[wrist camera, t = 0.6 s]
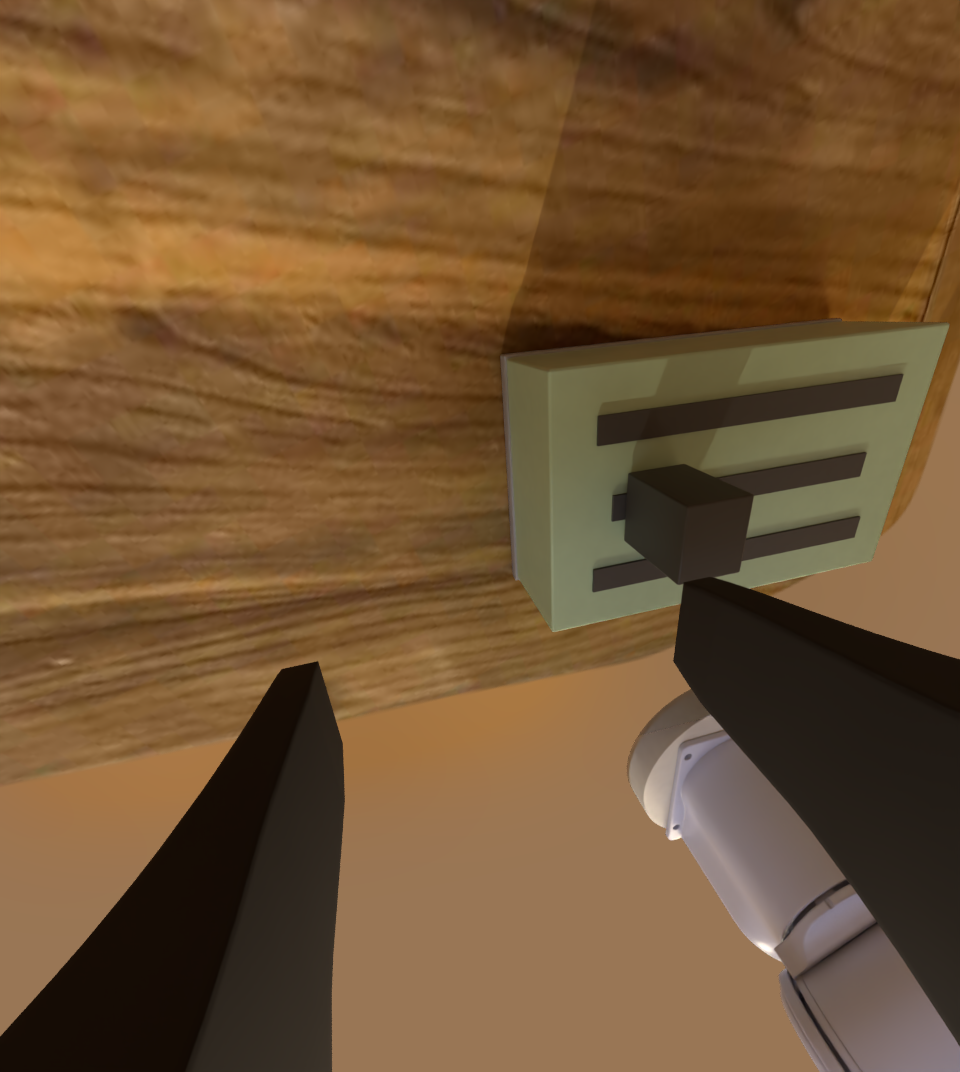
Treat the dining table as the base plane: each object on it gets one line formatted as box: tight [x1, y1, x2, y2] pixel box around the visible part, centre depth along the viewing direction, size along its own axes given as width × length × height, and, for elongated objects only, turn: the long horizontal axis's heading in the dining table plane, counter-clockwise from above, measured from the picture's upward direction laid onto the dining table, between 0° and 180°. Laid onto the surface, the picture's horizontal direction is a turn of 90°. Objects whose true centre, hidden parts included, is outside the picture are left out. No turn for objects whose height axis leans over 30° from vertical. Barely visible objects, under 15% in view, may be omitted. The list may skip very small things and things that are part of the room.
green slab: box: [500, 318, 949, 632], centre depth 18 cm, size 9×14×5 cm, turn 95°
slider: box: [624, 464, 754, 585], centre depth 14 cm, size 2×2×3 cm
